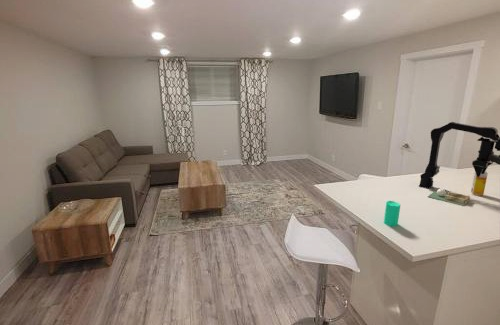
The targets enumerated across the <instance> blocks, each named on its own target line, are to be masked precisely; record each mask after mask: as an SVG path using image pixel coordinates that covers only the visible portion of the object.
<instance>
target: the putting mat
mask: <svg viewBox="0 0 500 325" xmlns="http://www.w3.org/2000/svg"><path fill="white" fill-rule="evenodd" d="M448 194H449V193H446V194H445V195H448ZM445 195H444V196H439V195H438V194H437V191H436V190H434V191H432V192H431V193H430V194H429V195H428V196H427V198H429V199H433V200H438V201H442V202H446V203H449V204H454V205H459V206H463V207H465V206H466V205H467V204H468V202H469V201H470V200H471V198H469V201H468V202H467V203H466V204H462V203H458V202H454V201H450V200H446V199H445Z"/></svg>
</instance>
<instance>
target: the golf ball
mask: <svg viewBox="0 0 500 325" xmlns="http://www.w3.org/2000/svg"><path fill="white" fill-rule="evenodd" d="M436 192H437V194H438V195H439V196H444V195H445V194H447V192H446V190H445V189H443V188H439V189H437V191H436Z"/></svg>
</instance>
